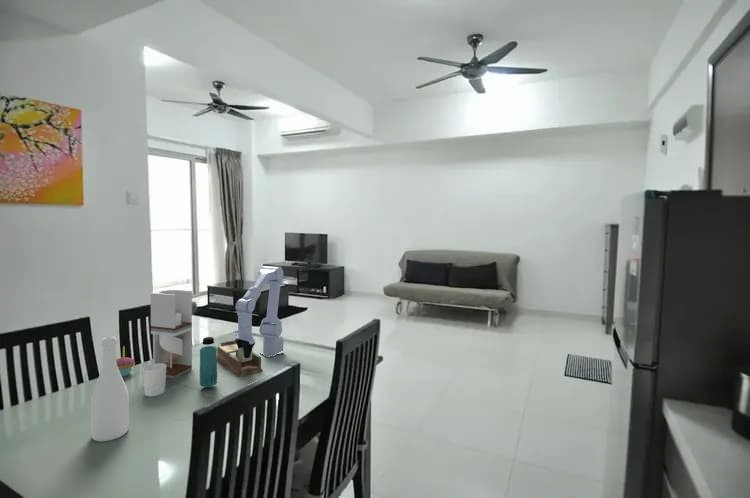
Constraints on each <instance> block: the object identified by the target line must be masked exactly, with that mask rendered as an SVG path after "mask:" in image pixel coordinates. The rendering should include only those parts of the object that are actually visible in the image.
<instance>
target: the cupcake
mask: <svg viewBox="0 0 750 498" xmlns="http://www.w3.org/2000/svg"><path fill="white" fill-rule="evenodd" d="M125 348H126V347H125V346H123V347H122V357H118V358H116V363H117V367H118V369H119V371H120V374H121V376H122V377H126V376H129V375H130V374H131V371H132V368H133V367H134V366H135V365H136V362H135V359H133V358H132V357H126V353H125V351H126V350H125Z"/></svg>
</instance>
